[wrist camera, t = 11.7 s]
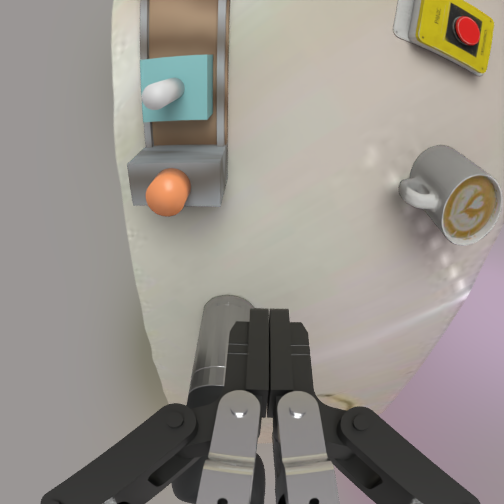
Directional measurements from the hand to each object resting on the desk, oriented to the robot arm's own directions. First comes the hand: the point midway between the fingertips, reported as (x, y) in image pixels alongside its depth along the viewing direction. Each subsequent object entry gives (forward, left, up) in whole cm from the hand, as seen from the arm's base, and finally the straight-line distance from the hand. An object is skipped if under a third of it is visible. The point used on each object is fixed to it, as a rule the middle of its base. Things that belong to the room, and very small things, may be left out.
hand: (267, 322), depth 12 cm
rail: (+11, +9, -29) cm, 33 cm away
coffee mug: (-3, -24, -30) cm, 38 cm away
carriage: (+6, +9, -28) cm, 30 cm away
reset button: (-4, +9, -21) cm, 23 cm away
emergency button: (+18, -23, -30) cm, 42 cm away
